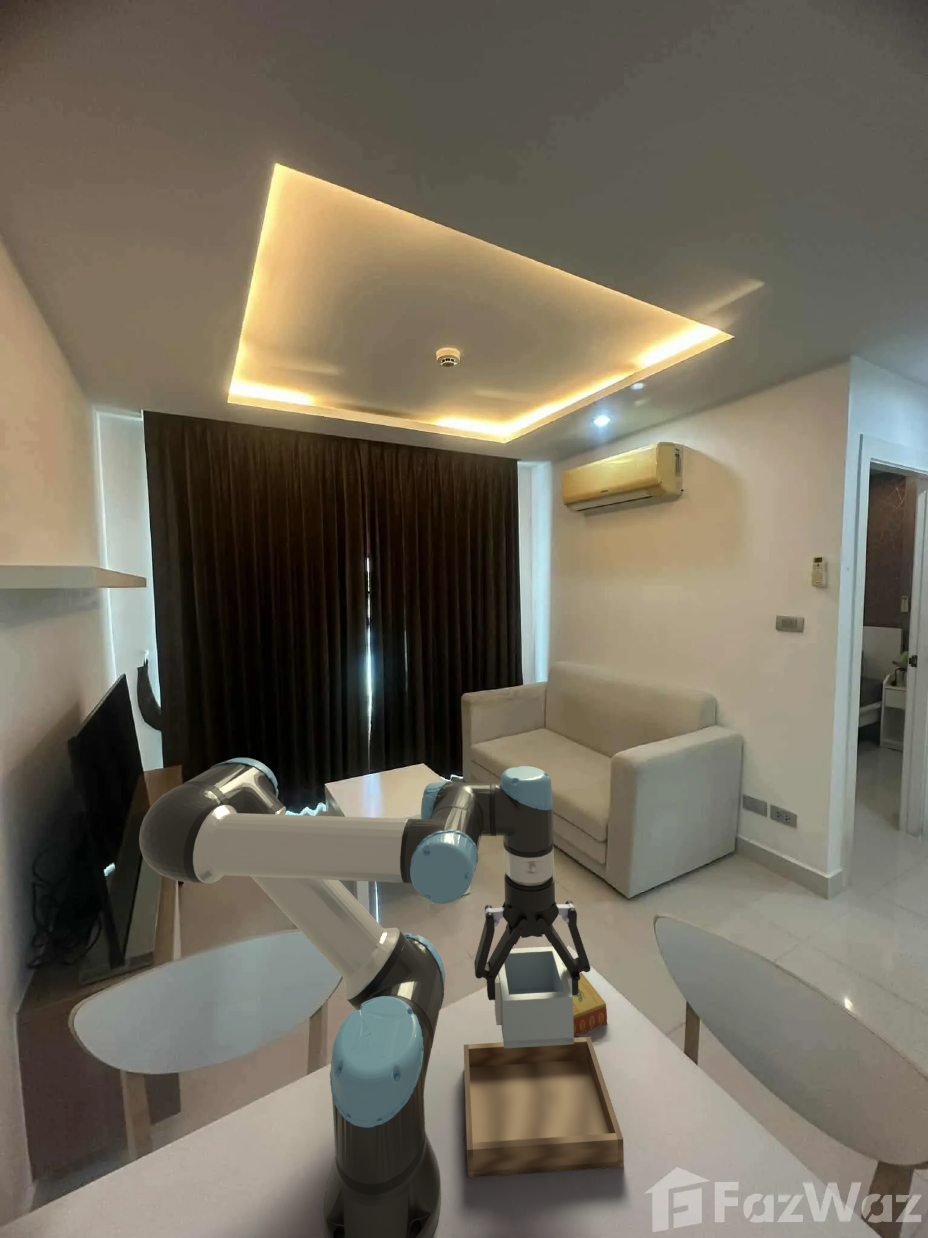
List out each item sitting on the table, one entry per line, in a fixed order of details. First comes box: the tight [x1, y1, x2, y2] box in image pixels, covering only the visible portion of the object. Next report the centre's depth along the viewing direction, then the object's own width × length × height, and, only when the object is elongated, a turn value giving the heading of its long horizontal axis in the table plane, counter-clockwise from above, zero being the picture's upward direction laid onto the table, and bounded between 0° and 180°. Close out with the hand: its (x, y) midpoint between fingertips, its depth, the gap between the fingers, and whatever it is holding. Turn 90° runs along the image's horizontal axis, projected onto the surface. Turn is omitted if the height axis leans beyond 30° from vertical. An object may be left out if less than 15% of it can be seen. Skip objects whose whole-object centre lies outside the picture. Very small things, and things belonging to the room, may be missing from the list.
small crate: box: [499, 945, 575, 1048], centre depth 73 cm, size 10×10×7 cm
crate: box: [463, 1036, 625, 1179], centre depth 74 cm, size 22×16×4 cm
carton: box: [572, 972, 608, 1037], centre depth 90 cm, size 8×16×4 cm, turn 110°
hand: (533, 1015), depth 73 cm, fingers closed on small crate, 10 cm apart
